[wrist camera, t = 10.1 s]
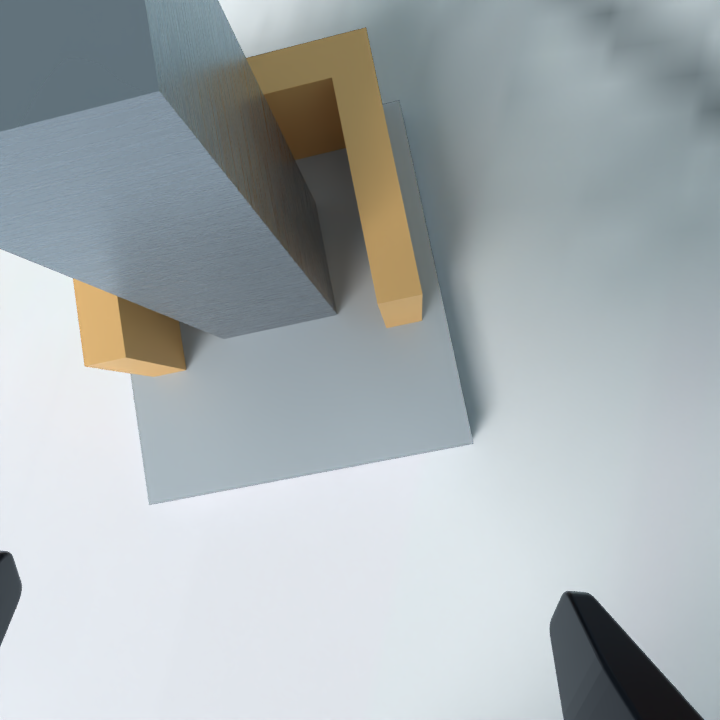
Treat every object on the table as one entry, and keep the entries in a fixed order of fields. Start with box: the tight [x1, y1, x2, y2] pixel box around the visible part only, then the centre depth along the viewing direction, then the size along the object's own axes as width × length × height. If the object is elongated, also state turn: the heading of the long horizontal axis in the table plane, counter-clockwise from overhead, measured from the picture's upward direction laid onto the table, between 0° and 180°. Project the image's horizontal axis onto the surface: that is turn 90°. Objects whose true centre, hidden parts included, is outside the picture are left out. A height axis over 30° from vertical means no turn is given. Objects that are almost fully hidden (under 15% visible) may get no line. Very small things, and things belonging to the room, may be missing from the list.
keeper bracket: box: [73, 28, 473, 505], centre depth 17 cm, size 12×11×7 cm
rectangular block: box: [0, 0, 337, 339], centre depth 13 cm, size 4×4×13 cm
